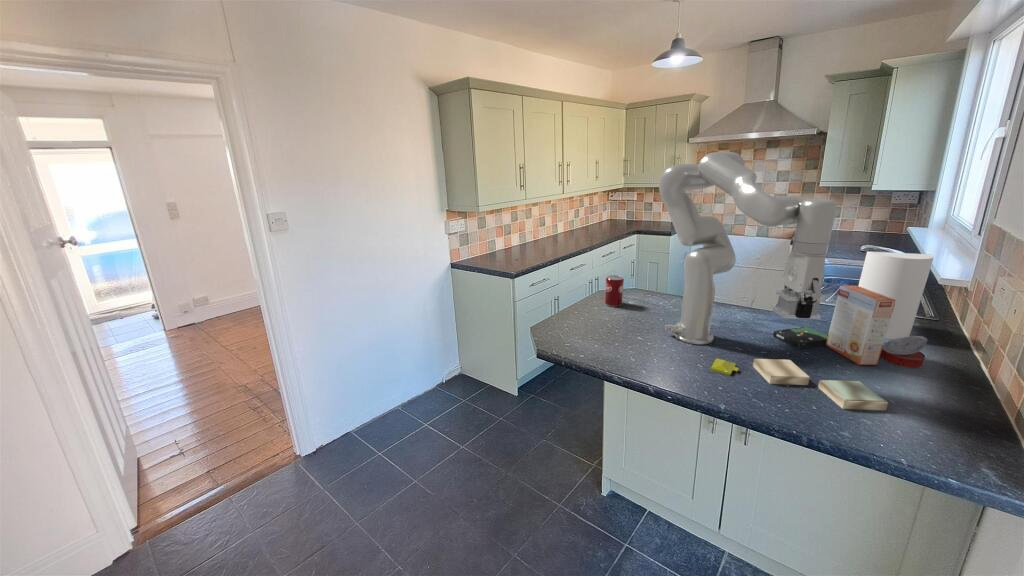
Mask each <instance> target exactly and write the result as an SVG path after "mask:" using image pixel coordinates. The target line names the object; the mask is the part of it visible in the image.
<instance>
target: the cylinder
mask: <svg viewBox="0 0 1024 576" xmlns="http://www.w3.org/2000/svg"><path fill="white" fill-rule="evenodd" d="M934 257H935V256H934V255H933V254H929V253H908V252H907V253H906V252H905V253H904V252H887V251H885V252H884V251H866V255H865V258H864V261H863V267H862V270H861V273H860V278H859V282H858V285H857V286H859V287H862V288H865V289H867V290H870V291H873V292H875V293H878V294H881V295H884V296H886V297H889V298H892V299H894V300H896V302H895V305H894V309H893V312H892V315H891V319H890V322H889V326H888V329H887V333H886V336H885V339H887V340H893V339H896V338H902V337H909V336H910V335H911V333H912V329H913V327H914V323H915V320H916V316H917V313H918V310H919V306H920V304H921V300H922V297H923V293H924V291H925V289H926V288H925V287H926V284H927V281H928V278H929V274H930V272H931V268H932V265H933V262H934Z"/></svg>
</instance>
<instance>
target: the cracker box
mask: <svg viewBox="0 0 1024 576" xmlns="http://www.w3.org/2000/svg"><path fill="white" fill-rule="evenodd" d="M895 302H896V300H894V299H892V298H889V297H886V296H884V295H881V294H878V293H875V292H873V291H870V290H867V289H865V288H862V287H859V286H858V285H840V286H839V289H838V293H837V298H836V301H835V305H834V306H835V307H834V309H833V314H832V317H831V322H830V326H829V330H828V333H827V335H828V337H827V341H826V345H825V346H826V347H828V348H830V349H832V350H833V351H835V352H836V353H838V354H840V355H842V356H843V357H845V358H847V359H848V360H850V361H852V362H853V363H855V364H856V365H858V366H859V365H860V366H877V365H878V363H879V359H880V353H881V350H882V346H883V345H884V343H885V339H886V338H885V336H886V333H887V329H888V326H889V322H890V319H891V315H892V312H893V309H894V305H895Z"/></svg>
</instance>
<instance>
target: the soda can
mask: <svg viewBox="0 0 1024 576" xmlns="http://www.w3.org/2000/svg"><path fill="white" fill-rule="evenodd" d="M624 280H625V279H624V277H623V276H621V275H612V274H611V275H608V276H606V278H605V289H604V304H605V305H606V306H608V307H611V308H617V307H618V308H619V307H621V306H622V305H623V295H624Z"/></svg>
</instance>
